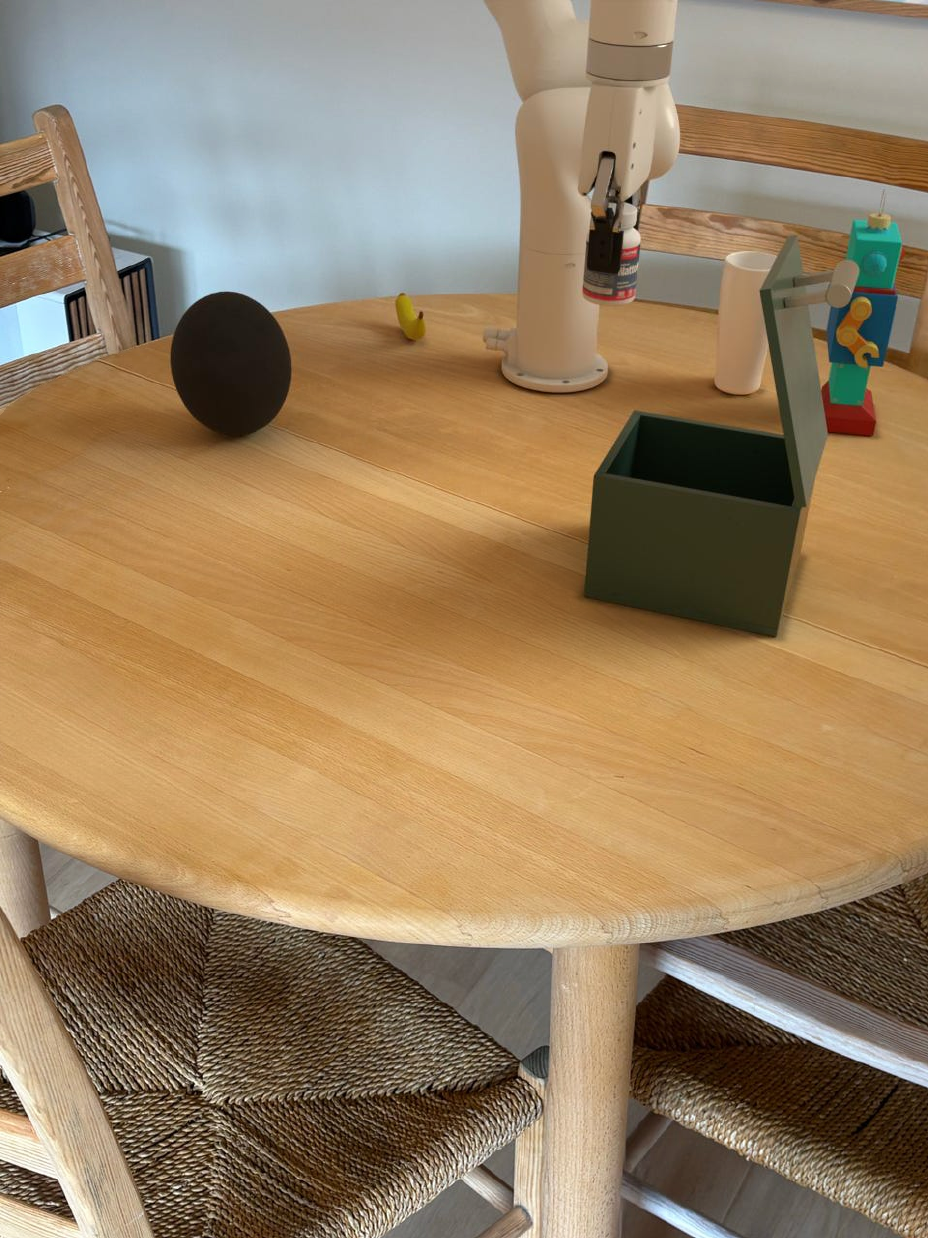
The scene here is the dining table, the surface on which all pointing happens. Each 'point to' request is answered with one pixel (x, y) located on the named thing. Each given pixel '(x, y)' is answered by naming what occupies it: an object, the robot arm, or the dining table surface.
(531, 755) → the dining table surface
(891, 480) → the dining table surface
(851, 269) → the lid
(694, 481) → the box
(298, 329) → the dining table surface
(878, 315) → the toy robot
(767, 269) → the drinking glass
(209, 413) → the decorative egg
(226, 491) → the dining table surface
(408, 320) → the fruit
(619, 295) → the pill bottle
